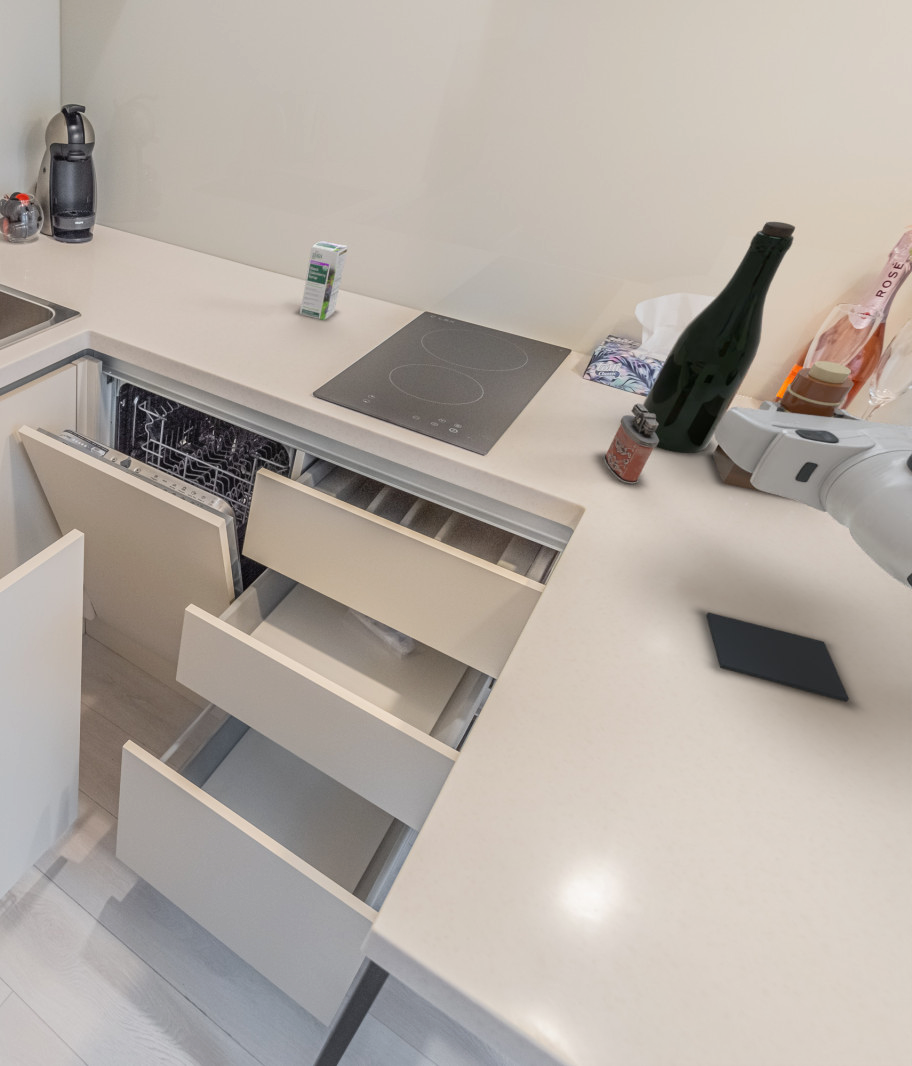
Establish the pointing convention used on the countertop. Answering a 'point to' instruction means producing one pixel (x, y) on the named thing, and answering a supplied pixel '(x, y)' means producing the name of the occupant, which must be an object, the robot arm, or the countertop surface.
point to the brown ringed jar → (818, 389)
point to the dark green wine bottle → (716, 349)
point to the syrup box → (323, 279)
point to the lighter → (632, 445)
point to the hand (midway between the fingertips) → (798, 410)
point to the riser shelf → (732, 471)
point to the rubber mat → (775, 656)
